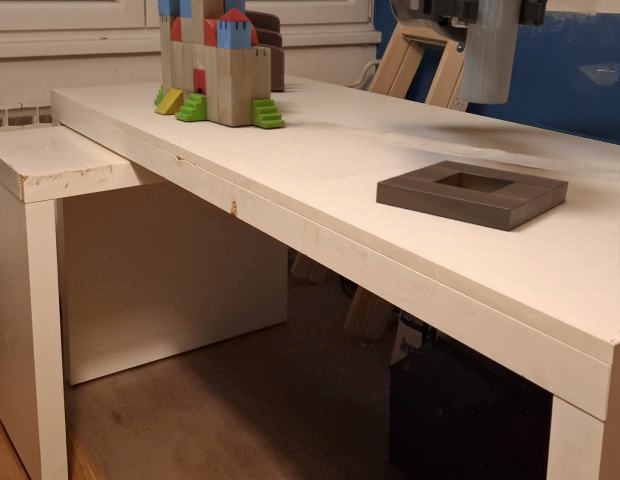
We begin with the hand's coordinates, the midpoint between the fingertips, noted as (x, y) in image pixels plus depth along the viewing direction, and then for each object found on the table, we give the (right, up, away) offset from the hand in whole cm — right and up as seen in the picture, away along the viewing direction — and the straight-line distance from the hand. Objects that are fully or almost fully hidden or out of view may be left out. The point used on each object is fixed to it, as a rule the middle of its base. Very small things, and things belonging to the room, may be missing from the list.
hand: (503, 11), depth 67 cm
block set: (-32, +7, +52) cm, 62 cm away
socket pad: (-1, -15, +10) cm, 18 cm away
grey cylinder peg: (0, -6, +6) cm, 9 cm away
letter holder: (-33, +21, +82) cm, 90 cm away
